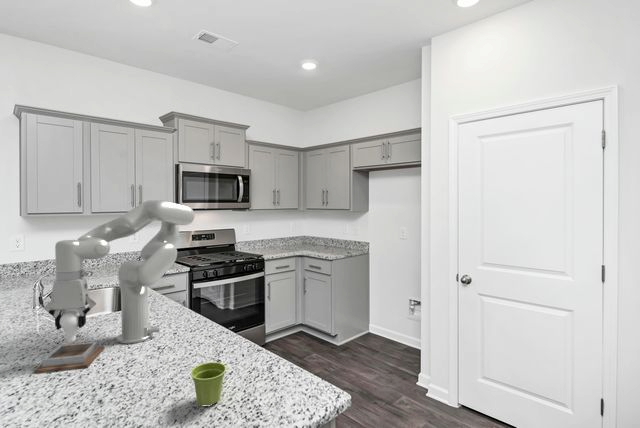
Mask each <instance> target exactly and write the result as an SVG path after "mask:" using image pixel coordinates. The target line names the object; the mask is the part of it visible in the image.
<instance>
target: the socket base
mask: <svg viewBox="0 0 640 428" xmlns="http://www.w3.org/2000/svg"><path fill="white" fill-rule="evenodd" d="M104 349H105V346H104V345H102V346H98V349H97V350H96V351H95V352H94V353H93V354H92V355H91V357H90V358H89V359H88V360H87V361H86V362H85V363H83V364H73V365H64V366H54V367H45V368H42V363H41V364H40V365H39V366H38V367H37V368H35V369H34V371H33V374H42V373H52V372H53V373H54V372H62V371H71V370H72V371H73V370H79V369H80V370H81V369H87V368H89V367H90V366H91V364H92V363H94V362H95V360H96V359H97V358H98V356H99V355H100V354H101V353H103V351H104ZM84 352H85V351H76V352H66V353H62V354H60V355H59V356H58V357H68V356H78V355H82V354H83V353H84Z"/></svg>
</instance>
